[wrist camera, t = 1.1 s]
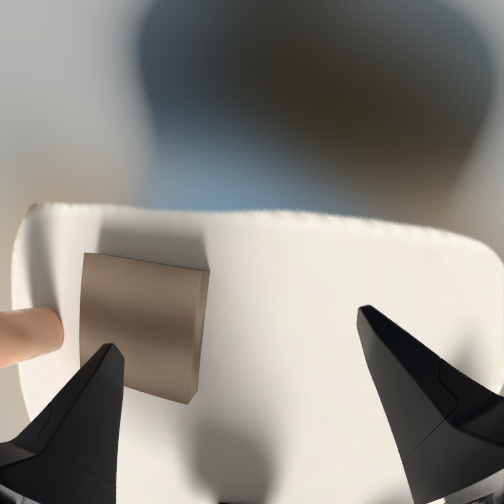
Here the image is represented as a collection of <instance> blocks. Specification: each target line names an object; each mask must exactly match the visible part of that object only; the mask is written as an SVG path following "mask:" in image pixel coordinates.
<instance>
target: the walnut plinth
mask: <svg viewBox="0 0 504 504" xmlns="http://www.w3.org/2000/svg"><path fill="white" fill-rule="evenodd" d="M209 274H210V271H206V270H199V269H192V268H185V267H179V266H172V265H166V264H159V263H153V262H147V261H140V260H134V259H128V258H122V257H116V256H110V255H104V254H95V253H84V261H83V271H82V282H81V297H80V326H79V343H80V368H81V367H82V366H83V365H84V364H85V363H86V362H87V361H88V360H89V359H90V358H91V357H92V356H93V354H94V353H95V352H96V351H97V350H98V349H99V348H100V347H101V346H102V345H103V344H104V343H114V344H115V345H116V346H117V347H118V349H119V350H120V352H121V353H122V354H123V356H124V359H125V366H124V386H126V387H129V388H132V389H135V390H138V391H141V392H144V393H147V394H151V395H154V396H157V397H161V398H164V399H168V400H172V401H175V402H179V403H183V404H187V405H188V403H189V402H190V400H191V399H192V397H193V396H194V395H195V393H196V392H197V388H198V376H199V365H200V355H201V345H202V335H203V326H204V316H205V308H206V299H207V291H208V282H209Z"/></svg>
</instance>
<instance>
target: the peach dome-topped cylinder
mask: <svg viewBox="0 0 504 504" xmlns="http://www.w3.org/2000/svg"><path fill="white" fill-rule="evenodd" d="M63 341H64V330H63V325H62V322H61V320H60V318H59V316H58V314H57V313H56V312H55V310H53V309H52V308H51V307H48V306H43V307H36V308H28V309H20V310H12V311H4V312H0V368H3V367H7V366H10V365H13V364H16V363H19V362H23V361H26V360H29V359H32V358H35V357H38V356H41V355H44V354H47V353H50V352H53V351H56V350H58V349H60V348H61V346H62V344H63Z"/></svg>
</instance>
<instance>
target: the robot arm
mask: <svg viewBox="0 0 504 504" xmlns="http://www.w3.org/2000/svg"><path fill="white" fill-rule="evenodd" d="M357 330H358V333H359V337H360V341H361V344H362V348H363V351H364V355H365V359H366V362H367V366H368V369H369V371H370V374H371V376H372V379H373V382H374V384H375V387H376V389H377V392H378V395H379V397H380V400H381V403H382V405H383V408H384V411H385V413H386V416H387V419H388V422H389V425H390V427H391V430H392V433H393V436H394V439H395V442H396V445H397V448H398V451H399V454H400V457H401V460H402V464H403V467H404V470H405V474H406V477H407V480H408V484H409V487H410V490H411V494H412V498H413V501H414V504H427V503H430V502H433V501H436V500H438V499H441V498H444V500H445V503H444V504H504V397H503V396H500V395H498V394H495V393H494V392H492V391H490V390H489V389H487V388H485V387H484V386H482V385H480V384H479V383H477V382H476V381H474V380H472V379H471V378H469V377H467V376H466V375H464V374H463V373H461V372H460V371H458V370H457V369H456V368H454V367H453V366H451V365H450V364H449V363H447V362H446V361H445V360H444V359H442V358H440V357H439V356H438V355H437V354H436V353H434V352H433V351H432V350H430V349H429V348H428V347H426V346H425V345H424V344H422V343H421V342H420V341H418V340H417V339H416V338H415V337H413V336H412V335H411V334H409V333H408V332H407V331H405V330H404V329H403V328H401V327H400V326H398V325H397V324H396V323H394V322H393V321H392V320H390V319H389V318H388V317H386V316H385V315H384V314H382V313H381V312H380V311H378V310H377V309H375V308H374V307H373V306H371V305H365V306H360V307H359V308H358V314H357ZM124 366H125V359H124V356H123V354H122V353H121V352H120V350H119V349H118V347H117V346H116V345H115V344H114V343H104V344H103V345H102V346H101V347H100V348H99V349H98V350H97V351H96V352H95V353H94V354H93V356H92V357H91V358H90V359H89V360H88V361H87V362H86V363H85V364H84V365H83V366H82V367H81V368H80V369H79V371H78V372H77V373H76V374H75V375H74V376H73V377H72V378H71V379H70V380H69V381H68V383H67V384H66V385H65V386H64V387H63V388H62V389H61V390H60V391H59V393H58V394H57V395H56V396H55V397H54V398H53V399H52V401H51V402H50V403H49V404H48V405H47V406H46V407H45V408H44V409H43V411H42V412H41V413H40V414H39V415H38V416H37V417H36V418H35V419H34V420H33V421H32V422H31V423H30V424H29V425H28V426H27V427H26V428H25V429H24V430H23V431H22V432H21V433H20V434H19V435H18V436H17V437H16V438H14V439H13V440H11V441H8V442H4V443H0V504H116V472H117V454H118V440H119V429H120V419H121V410H122V402H123V390H124ZM219 504H226V503H219Z"/></svg>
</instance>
